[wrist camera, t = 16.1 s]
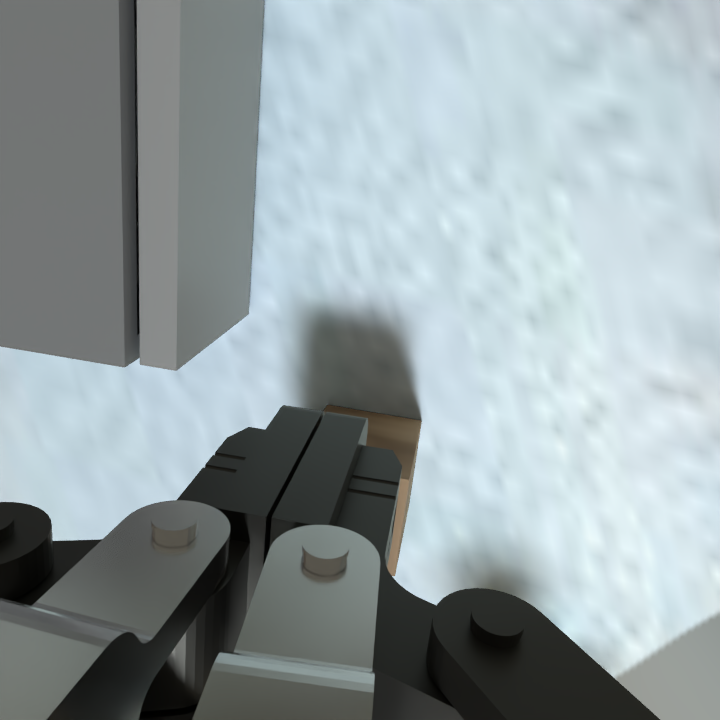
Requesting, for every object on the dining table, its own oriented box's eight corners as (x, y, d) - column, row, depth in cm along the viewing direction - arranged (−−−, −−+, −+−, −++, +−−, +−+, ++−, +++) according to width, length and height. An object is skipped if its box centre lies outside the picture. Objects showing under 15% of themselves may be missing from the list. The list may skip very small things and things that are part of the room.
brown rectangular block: (319, 487, 29) (288, 554, 25) (327, 404, 28) (295, 459, 23) (409, 504, 29) (394, 576, 24) (421, 420, 27) (409, 480, 23)
